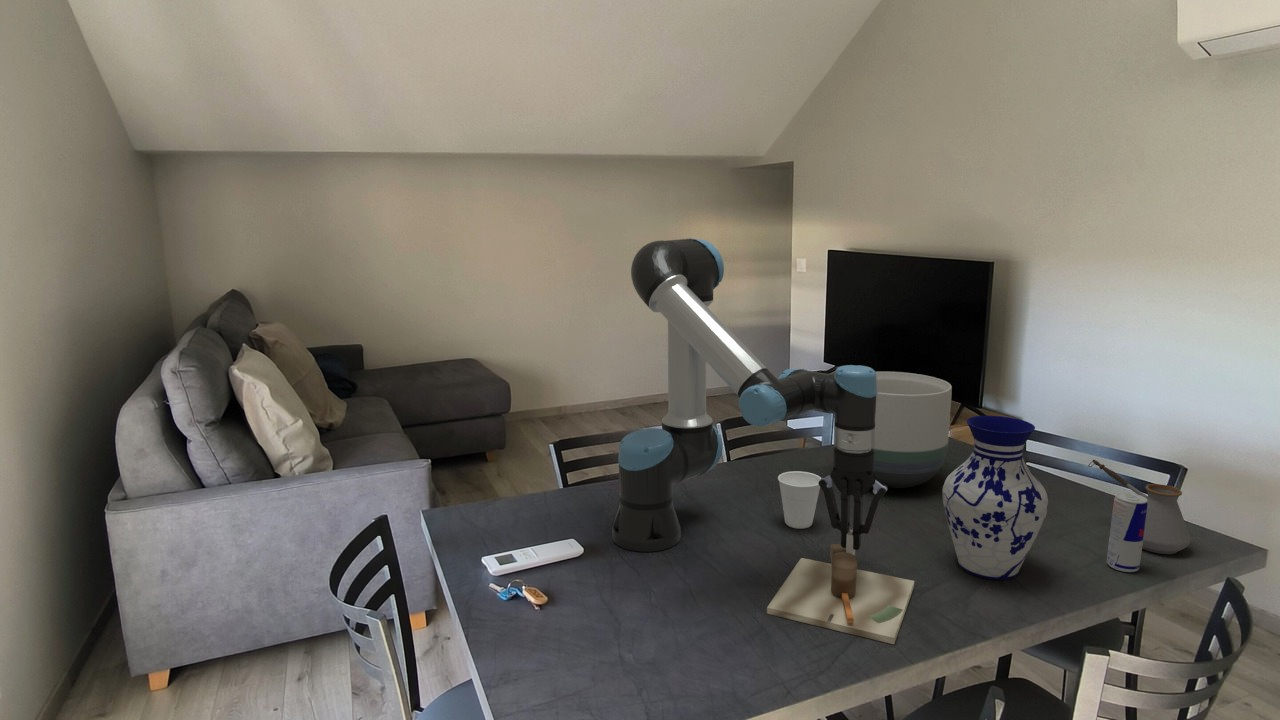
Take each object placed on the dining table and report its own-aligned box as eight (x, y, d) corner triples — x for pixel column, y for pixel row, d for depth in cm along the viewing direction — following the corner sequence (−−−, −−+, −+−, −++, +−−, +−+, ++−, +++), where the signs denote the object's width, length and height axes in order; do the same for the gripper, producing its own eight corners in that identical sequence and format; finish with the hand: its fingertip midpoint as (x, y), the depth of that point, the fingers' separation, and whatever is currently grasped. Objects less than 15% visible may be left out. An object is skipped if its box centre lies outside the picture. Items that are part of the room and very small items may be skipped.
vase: (1035, 600, 141) (1051, 444, 135) (928, 574, 151) (938, 428, 145) (1044, 559, 157) (1059, 418, 151) (947, 539, 166) (957, 406, 161)
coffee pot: (1200, 550, 160) (1210, 482, 157) (1170, 563, 155) (1180, 493, 152) (1098, 515, 178) (1105, 454, 175) (1068, 525, 173) (1075, 462, 170)
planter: (832, 463, 216) (836, 370, 211) (931, 467, 212) (938, 372, 207) (844, 499, 190) (849, 393, 185) (956, 503, 186) (965, 396, 181)
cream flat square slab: (766, 613, 137) (767, 607, 137) (801, 563, 156) (801, 557, 156) (894, 644, 127) (894, 637, 127) (914, 586, 146) (914, 580, 146)
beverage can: (1128, 576, 149) (1137, 504, 146) (1100, 564, 154) (1108, 494, 151) (1145, 569, 152) (1154, 498, 149) (1116, 558, 157) (1125, 489, 154)
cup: (821, 534, 170) (823, 487, 167) (775, 531, 172) (777, 484, 169) (820, 517, 179) (821, 472, 177) (777, 514, 181) (778, 469, 179)
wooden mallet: (863, 624, 130) (865, 587, 129) (837, 622, 131) (838, 585, 130) (848, 564, 152) (849, 532, 151) (825, 562, 153) (826, 531, 151)
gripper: (815, 449, 144) (812, 565, 149) (884, 457, 138) (880, 578, 143) (825, 438, 151) (822, 549, 155) (892, 446, 145) (887, 561, 149)
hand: (850, 563), depth 149 cm, fingers closed
